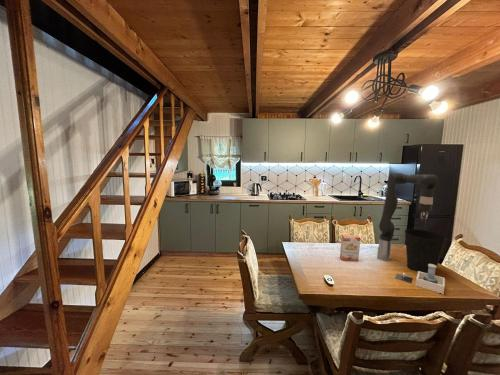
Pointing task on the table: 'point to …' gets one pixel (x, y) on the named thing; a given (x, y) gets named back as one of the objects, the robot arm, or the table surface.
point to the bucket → (423, 249)
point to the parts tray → (430, 283)
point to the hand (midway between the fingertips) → (423, 225)
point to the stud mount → (404, 278)
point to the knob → (431, 274)
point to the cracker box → (350, 247)
